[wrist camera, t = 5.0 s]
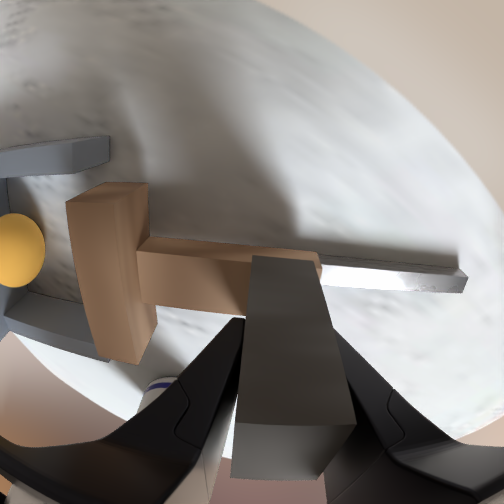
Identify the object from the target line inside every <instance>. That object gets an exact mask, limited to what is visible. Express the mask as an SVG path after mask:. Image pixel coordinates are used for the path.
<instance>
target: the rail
mask: <svg viewBox="0 0 504 504" xmlns="http://www.w3.org/2000/svg"><path fill="white" fill-rule="evenodd" d="M318 257H319V260H320V263H321V266H322V274H321V279H320V284H321V285H331V286H345V287H359V288H373V289H389V290H406V291H424V292H444V293H462V292H463V290H464V287H465V285H466V282H467V280H468V276H467V275H466V274H465V273H464V272H463V271H461V270H460V269H458V268H448V267H438V266H428V265H418V264H408V263H398V262H388V261H378V260H368V259H358V258H347V257H337V256H327V255H318Z"/></svg>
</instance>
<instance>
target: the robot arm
mask: <svg viewBox="0 0 504 504" xmlns="http://www.w3.org/2000/svg"><path fill="white" fill-rule="evenodd" d="M333 329H334V328H333ZM244 330H245V319H244V318H236V317H233V318H232V319H231V320H230V321H229V322H228V323H227V324H226V325H225V326H224V328H223V329H222V330H221V331H220V332H219V333H218V334H217V335H216V336H215V337H214V338H213V340H212V341H211V342H210V343H209V344H208V345H207V346H206V347H205V348H204V349H203V350H202V351H201V353H200V354H199V355H198V356H197V357H196V358H195V359H194V360H193V361H192V362H191V363H190V364H189V365H188V367H187V368H186V369H185V370H184V371H183V372H182V373H181V374H180V375H179V376H178V377H177V379H175V380H174V381H173V382H172V383H171V384H170V385H169V387H168V388H167V389H165V390H164V391H163V392H162V393H161V394H160V395H159V396H158V397H157V398H156V399H155V400H154V401H152V402H151V403H150V404H149V405H148V406H146V407H145V408H144V409H143V410H141V411H140V412H139V413H137V414H136V415H135V416H133V417H132V418H131V419H130V420H128V421H127V422H126V423H124V424H123V425H122V426H120V427H119V428H118V429H116V430H115V431H114V432H112V433H111V434H109V435H107V436H105V437H103V438H101V439H98V440H95V441H91V442H83V443H76V444H68V445H59V446H49V447H36V448H35V447H34V448H33V447H32V448H31V447H24V446H20V445H16V444H14V443H12V442H10V441H8V440H6V439H5V438H3V437H2V436H0V474H1V475H2V476H4V477H5V478H6V479H7V480H8V481H10V482H11V483H12V486H11V488H10V490H9V492H8V495H7V496H6V495H4V494H3V493H1V492H0V504H209V502H210V499H211V495H212V491H213V488H214V484H215V480H216V476H217V473H218V468H219V464H220V461H221V457H222V453H223V450H224V446H225V442H226V438H227V434H228V430H229V426H230V422H231V418H232V414H233V410H234V406H235V402H236V398H237V394H238V388H239V378H240V369H241V359H242V349H243V340H244ZM334 333H335V336H336V340H337V344H338V348H339V351H340V355H341V359H342V363H343V367H344V371H345V375H346V379H347V383H348V387H349V391H350V396H351V400H352V404H353V409H354V413H355V417H356V422H357V425H356V426H355V428H354V429H353V431H352V432H351V434H350V435H349V437H348V438H347V440H346V441H345V443H344V444H343V445H342V447H341V448H340V450H339V451H338V452H337V454H336V455H335V456H334V458H333V459H332V461H331V462H330V463H329V465H328V466H327V467H326V468H325V470H324V471H323V472H324V481H325V489H326V497H327V504H504V447H493V446H478V445H468V444H463V443H460V442H458V441H456V440H454V439H452V438H451V437H450V436H448V435H447V434H446V433H445V432H443V431H442V430H441V429H440V428H438V427H437V426H436V425H435V424H433V423H432V422H431V421H430V420H428V419H427V418H426V417H425V416H423V415H422V414H421V413H420V412H419V411H417V410H416V409H415V408H414V407H413V406H412V405H411V404H410V403H408V402H407V401H406V400H405V399H404V398H403V397H402V396H401V395H400V394H399V393H398V392H397V391H396V390H395V389H393V387H392V386H391V385H390V384H389V383H388V382H387V381H386V380H385V379H384V378H383V377H382V376H381V375H380V374H379V373H378V372H377V371H376V370H375V369H374V368H373V367H372V366H371V365H370V364H369V363H368V362H367V361H366V360H365V359H364V358H363V357H362V356H361V355H360V354H359V353H358V352H357V351H356V350H355V349H354V348H353V347H352V346H351V345H350V344H349V343H348V342H347V341H346V340H345V339H344V338H343V337H342V336H341V335H340V334H339V333H338V332H337V331H336V330H335V329H334Z"/></svg>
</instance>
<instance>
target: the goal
mask: <svg viewBox="0 0 504 504" xmlns="http://www.w3.org/2000/svg"><path fill="white" fill-rule="evenodd" d="M109 140H110V136H100V137H87V138H76V139H66V140H57V141H49V142H42V143H35V144H28V145H22V146H16V147H10V148H5V149H0V217H2V216H4V215H6V214H10V208H9V201H8V194H7V185H6V178H9V177H22V176H39V175H60V174H75V173H77V172H80V171H83V170H86V169H88V168H91V167H94V166H97V165H100V164H103V163H106V162H109V161H110V158H109ZM9 331H12V332H14V333H17V334H19V335H22V336H24V337H27V338H30V339H32V340H35V341H38V342H41V343H44V344H47V345H49V346H52V347H56V348H59V349H62V350H65V351H68V352H71V353H75V354H78V355H81V356H85V357H88V358H92V359H96V360H100V361H103V362H107V363H109V361H110V359H108V358H104V357H100V356H98V353H97V350H96V346H95V343H94V340H93V337H92V333H91V330H90V327H89V323H88V320H87V316H86V312H85V308H84V305H83V304H80V303H75V302H70V301H66V300H61V299H57V298H53V297H49V296H45V295H41V294H37V293H33V292H29V291H28V289H27V285H24V286H20V287H8V286H4V285H2V284H0V341H1V340H2V339H3V338H4V337H5V335H6V334H7V333H8V332H9Z"/></svg>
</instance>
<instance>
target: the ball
mask: <svg viewBox="0 0 504 504" xmlns="http://www.w3.org/2000/svg"><path fill="white" fill-rule="evenodd" d="M44 258H45V242H44V238H43V235H42V232H41V231H40V229H39V227H38V226H37V224H36V223H35V222H34V221H33V220H31V219H30V218H29V217H27V216H25V215H22V214H17V213H11V214H6V215H4V216H2V217H0V284H2V285H4V286H8V287H20V286H24V285H26V284H28V283H30V282H31V281H32V280H33V279H34V278H35V277H36V276H37V275H38V273H39V272H40V270H41V268H42V266H43V263H44Z"/></svg>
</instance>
